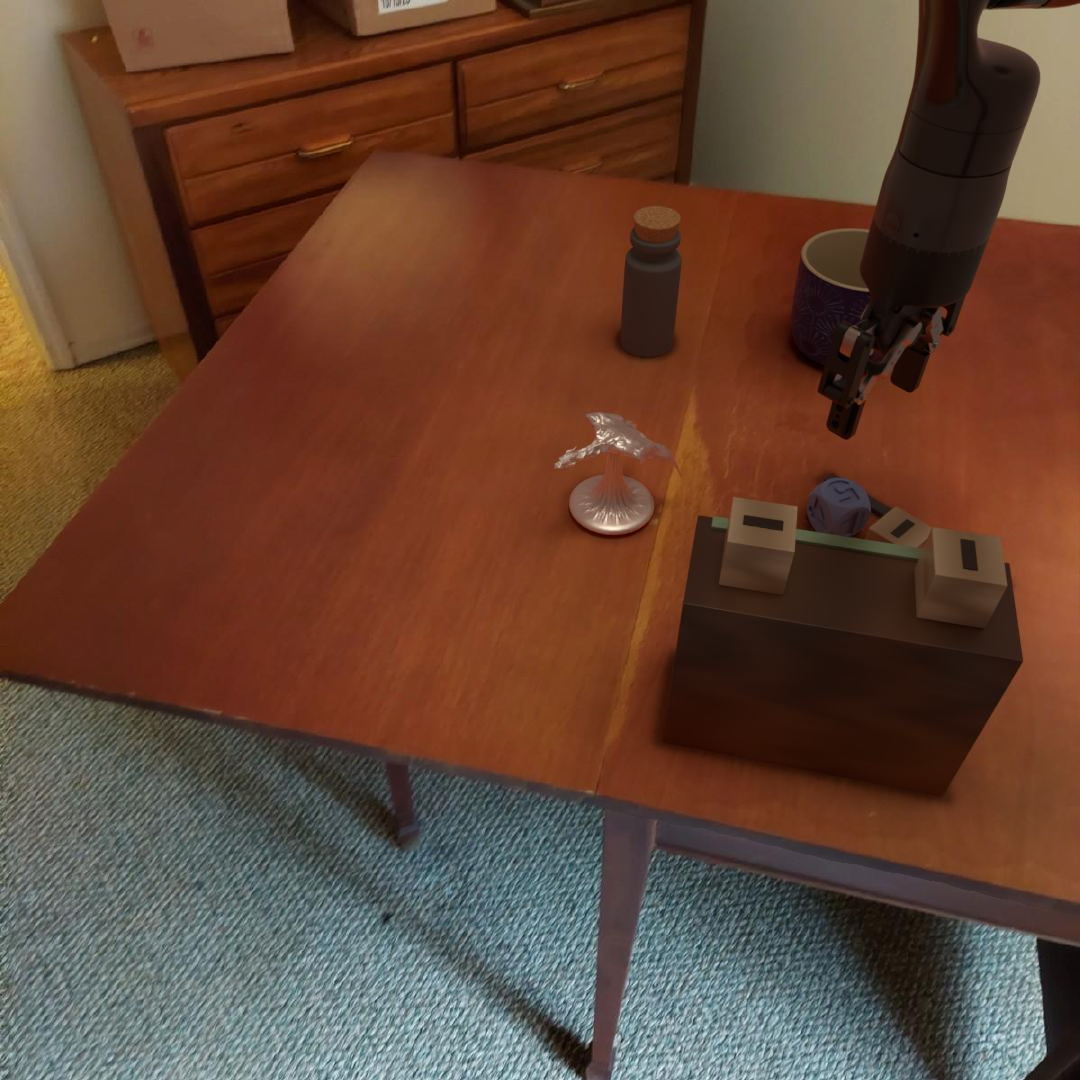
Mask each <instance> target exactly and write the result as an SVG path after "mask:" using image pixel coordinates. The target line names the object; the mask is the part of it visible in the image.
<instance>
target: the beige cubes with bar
mask: <svg viewBox="0 0 1080 1080" xmlns="http://www.w3.org/2000/svg"><path fill="white" fill-rule="evenodd" d="M832 478H841V477H839V476H838V475H836V474H835V473H831V474H829V475H827V476H826V477H825V478H824V479H823V482H824V481H826V480H828V479H832ZM867 495H868V498H869V501H870V505H871V513H873V514H875V515H876V516H878V517H880V518H879V519H878V520H877V521H875V522H874V523H873V524H872V525H871V526H869V527H868V530H867V532H866V535H865V537H864V539H865V540H871V541H877V542H884V543H890V544H897V545H903V546H910V547H916V548H924V545H925V543H926V541H927V538H928V536H929V533H930V531H931V528H932V527H933V526H930V525H929V524H927V523H925V522H924V521H922V520H920V519H919V518H917V517H915V516H913V515H912V514H910V513H908V512H907V511H905V510H904V509H902V508H900V507H899V506H898V505H895V506H894V507H893V508H891V507H889V506H888V505H886V504H885V503H882V502H881V501H879V500H878V499H876V498H874V497H873V496H871V495H869V494H868V493H867Z"/></svg>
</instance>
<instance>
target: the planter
mask: <svg viewBox="0 0 1080 1080" xmlns="http://www.w3.org/2000/svg"><path fill="white" fill-rule="evenodd" d="M869 230H870V229H866V228H857V227H856V228H855V227H852V228H850V227H849V228H848V227H847V228H835V229H830V230H826V231H823V232H820V233H818V234H815V235H814V236H812V237H810V238H809V239H808V240H807V241H806V242H805V243H804V244H803V246H802V248H801V251H800V257H799V262H798V267H797V268H798V269H797V274H796V280H795V286H794V292H793V298H792V306H791V316H790V330H791V336H792V340H793V342H794V343H795V346H796V347H797V348H798V350H799V351H800V352H801V353H802V354H803V355H804V356H806V357H807V358H808V359H810V360H811V361H813V362H815V363H817V364H819V365H822V366H823V367H824V366H825V363H826V359H827V356H828V353H829V349H830V346H831V343H832V339H833V336H834V333H835V330H836V328H837V326H838V325H839V324H840V323H841V322H842V321H846V322H848V323H850V324H851V325H853V326H855V325H856V324H858V323H860V322H861V315H862V313H863V312H864V310H865V308H866V307H867V305H868V304H869V302H870V300H871V295H870V292H869V290H868V288H867V286H866V284H865V283H864V281H863V279H862V277H861V274H860V264H861V260H862V256H863V252H864V249H865V245H866V241H867V238H868V234H869ZM868 359H869V360H871V361H873V362H875V363H879V362H881V361H882V360H883V359H884V357H883V356H881V355H879V354H878V353H876V352H874V351H873V353H872V354H871V355H869V358H868Z"/></svg>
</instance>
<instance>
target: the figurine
mask: <svg viewBox="0 0 1080 1080" xmlns="http://www.w3.org/2000/svg"><path fill="white" fill-rule="evenodd" d="M584 418H585V419H587V420H588V421H589V422H590V424H591V425H592V428H593V441H592V443H589V444H587V445H586V446H584V447H583V448H579V449H577V446H578V445H576V446H575V447H573V448H572V449H567V450H566V451H565V453H564V454H563V455H560V456H559V457H558V460H559V461H557V462H555V463H554V464H553V465H554V467H553V469H554V470H555V469H556V470H558V471H559V470H563V469H564V468H565V469H566V468H572V467H573V468H574V467H575V466H576V464H579V463H581V462H586V461H588V460H589V459H590V458H596V457H597V456H598V455H600V454H601V453H602V455H603V456H605V455H606V463H605V468H604V471H603V474H597V475H593V476H591V477H588V478H585V479H584V480H582V481H581V482H580V483H578V484H577V485H575V487H574V489H573V490H572V491H571V494H570V496H569V499H568V500H569V501H568V508H569V511H570V513H571V516H572V518H573V519H574V520H575V521H576V522H577V523H578V524H579V525H581V527H583V528H584V529H585V528H586V529H587V530H588V531H591V532H594V533H597V534H601V535H606V536H607V535H608V536H609V535H612V536H619V535H625V534H629V533H632V532H634V531H637V530H639V529H641V528H642V527H644V526H645V525H646V524H647V523H648V522H649V521H650V520H651V518H652V516H653V514H654V511H655V501H654V498H653V495H652V493H651V492H650V490H649V489H648V488H647V487H646V485H644V484H643V483H641V482H640V481H639V480H636V479H635V478H632V477H631V476H630V477H629V476H626V475H624V471H623V457H629V458H634V459H636V461H638V462H640V465H643V464H644V462H645V461H646V460H648V459H649V460H650V459H651V460H652V459H657V460H659V461H663V462H664V461H668V462H670V464H671V465H672V466H673V467H674V468H675V469H676V471H677V472H678V475H679V476H680V477H681V478H683V475H682V473H681V471H680V468H679V465H678V463H677V461H676V458H675V455H674V453H673V452H672V451H671V450H670V449H669V448H668V446H666V445H664V444H661V443H658V442H654V441H653V440H652V439H650V438H647V436H646V435H645V434H644V433H642V432H641V431H640V430H638V424H637V423H636V421H635V420H631V419H625V418H624V417H623V416H621V415H620V414H617V413H612V412H611V413H610V412H602V411H596V412H590V413H586V414H584ZM576 449H577V450H576Z"/></svg>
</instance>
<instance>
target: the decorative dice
mask: <svg viewBox="0 0 1080 1080" xmlns="http://www.w3.org/2000/svg"><path fill="white" fill-rule="evenodd" d="M867 494H868V493H867V492H866V490H865V488H863V486H862V485H861V484H859V483H858V482H857V481H854V480H852V479H850V478H846V477H840V478H832V479H828V480H826V481H824V480H823V481H822V482H820V483H819V484H818V485H817V486H816V487H815V488H814V489H812V491H811V492H810V494H809V495H808V498H807V500H806V514H807V518H808V521H809V523H810V525H811V526H812V529H814V532H819V533H826V534H832V535H839V536H845V537H853V536H855V535H857V534H858V533H859V532H860V531H862V529H863V528H864V527H865V526H866V525H867V524H868V522H869V520H870V517H871V515H872V514H871V513H872V512H871V505H870V501H869V498H868V495H869V494H868V495H867Z"/></svg>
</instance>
